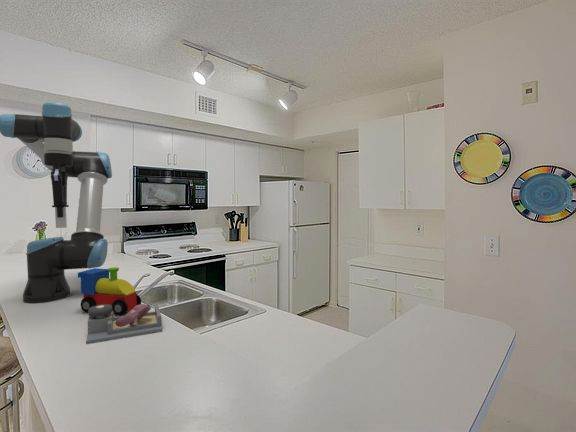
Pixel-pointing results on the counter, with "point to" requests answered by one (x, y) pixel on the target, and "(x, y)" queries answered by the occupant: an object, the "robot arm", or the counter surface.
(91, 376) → the counter surface
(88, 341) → the grey tray
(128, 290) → the toy train
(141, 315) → the video game controller
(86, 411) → the counter surface
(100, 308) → the wheel cap
